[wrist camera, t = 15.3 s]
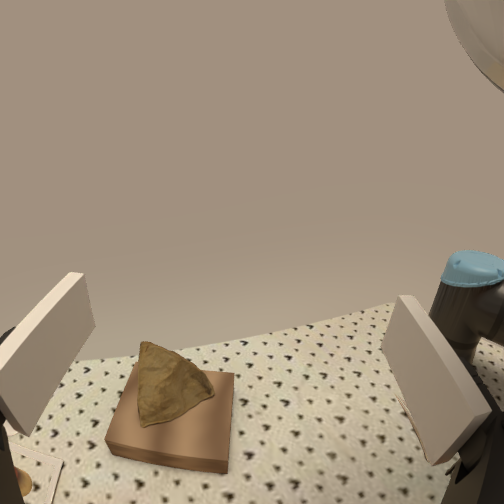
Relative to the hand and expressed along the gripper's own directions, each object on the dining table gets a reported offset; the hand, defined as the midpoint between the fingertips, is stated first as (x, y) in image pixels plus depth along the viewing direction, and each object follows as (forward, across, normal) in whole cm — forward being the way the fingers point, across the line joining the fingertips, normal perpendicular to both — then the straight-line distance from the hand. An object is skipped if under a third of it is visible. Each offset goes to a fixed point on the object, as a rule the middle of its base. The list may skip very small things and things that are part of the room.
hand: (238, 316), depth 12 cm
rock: (+15, -8, -26) cm, 31 cm away
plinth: (+15, -8, -30) cm, 34 cm away
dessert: (-3, -27, -31) cm, 41 cm away
